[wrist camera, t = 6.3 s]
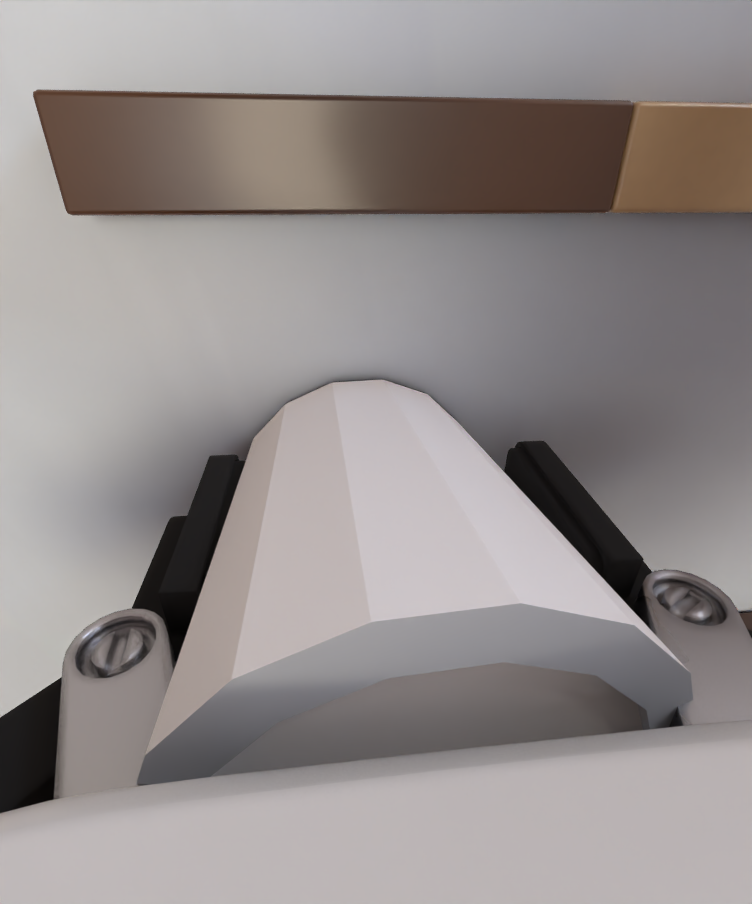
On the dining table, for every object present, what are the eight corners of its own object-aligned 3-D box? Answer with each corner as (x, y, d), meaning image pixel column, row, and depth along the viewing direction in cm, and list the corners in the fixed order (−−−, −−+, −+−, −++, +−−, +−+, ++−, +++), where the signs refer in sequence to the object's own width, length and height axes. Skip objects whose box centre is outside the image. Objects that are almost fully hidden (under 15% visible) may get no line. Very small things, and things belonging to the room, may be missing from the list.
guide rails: (1223, 118, 10) (1312, 112, 9) (846, 632, 17) (874, 656, 16) (61, 97, 8) (28, 89, 7) (217, 690, 15) (211, 721, 14)
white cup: (454, 592, 14) (573, 902, 8) (209, 585, 13) (135, 960, 7) (535, 372, 11) (830, 620, 5) (217, 328, 9) (88, 606, 3)
